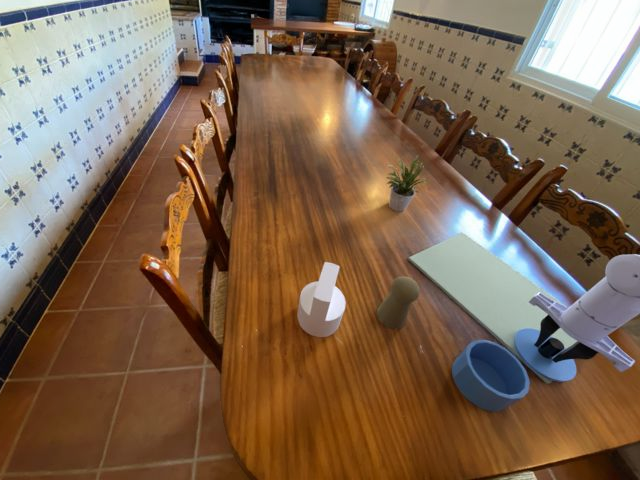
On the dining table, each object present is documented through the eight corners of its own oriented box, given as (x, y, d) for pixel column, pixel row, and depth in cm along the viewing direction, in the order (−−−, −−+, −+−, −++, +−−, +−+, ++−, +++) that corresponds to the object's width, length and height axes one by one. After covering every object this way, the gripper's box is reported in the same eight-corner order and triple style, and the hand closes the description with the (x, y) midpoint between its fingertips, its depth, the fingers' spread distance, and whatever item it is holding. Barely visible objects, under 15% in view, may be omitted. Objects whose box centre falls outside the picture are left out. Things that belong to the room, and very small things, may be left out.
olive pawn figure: (409, 329, 61) (429, 298, 54) (380, 328, 61) (396, 296, 54) (401, 304, 65) (418, 272, 58) (374, 302, 65) (388, 270, 58)
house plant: (378, 186, 102) (392, 142, 91) (419, 198, 98) (439, 153, 88) (370, 209, 91) (384, 162, 81) (416, 223, 88) (437, 176, 77)
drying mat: (598, 332, 64) (601, 330, 63) (547, 384, 54) (550, 382, 54) (460, 234, 85) (462, 232, 85) (407, 259, 76) (408, 257, 76)
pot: (520, 393, 53) (540, 379, 49) (488, 423, 49) (508, 411, 45) (472, 346, 59) (487, 331, 55) (440, 370, 55) (454, 355, 51)
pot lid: (582, 366, 57) (600, 355, 54) (556, 394, 52) (575, 383, 49) (528, 323, 63) (541, 310, 60) (501, 344, 59) (514, 332, 56)
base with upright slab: (335, 343, 57) (347, 308, 50) (291, 328, 59) (296, 292, 52) (343, 305, 64) (355, 270, 56) (304, 293, 66) (310, 256, 58)
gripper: (666, 338, 45) (600, 376, 54) (562, 271, 54) (520, 312, 63) (650, 360, 42) (582, 396, 51) (543, 285, 51) (501, 326, 60)
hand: (547, 351), depth 57 cm, fingers open, 3 cm apart
